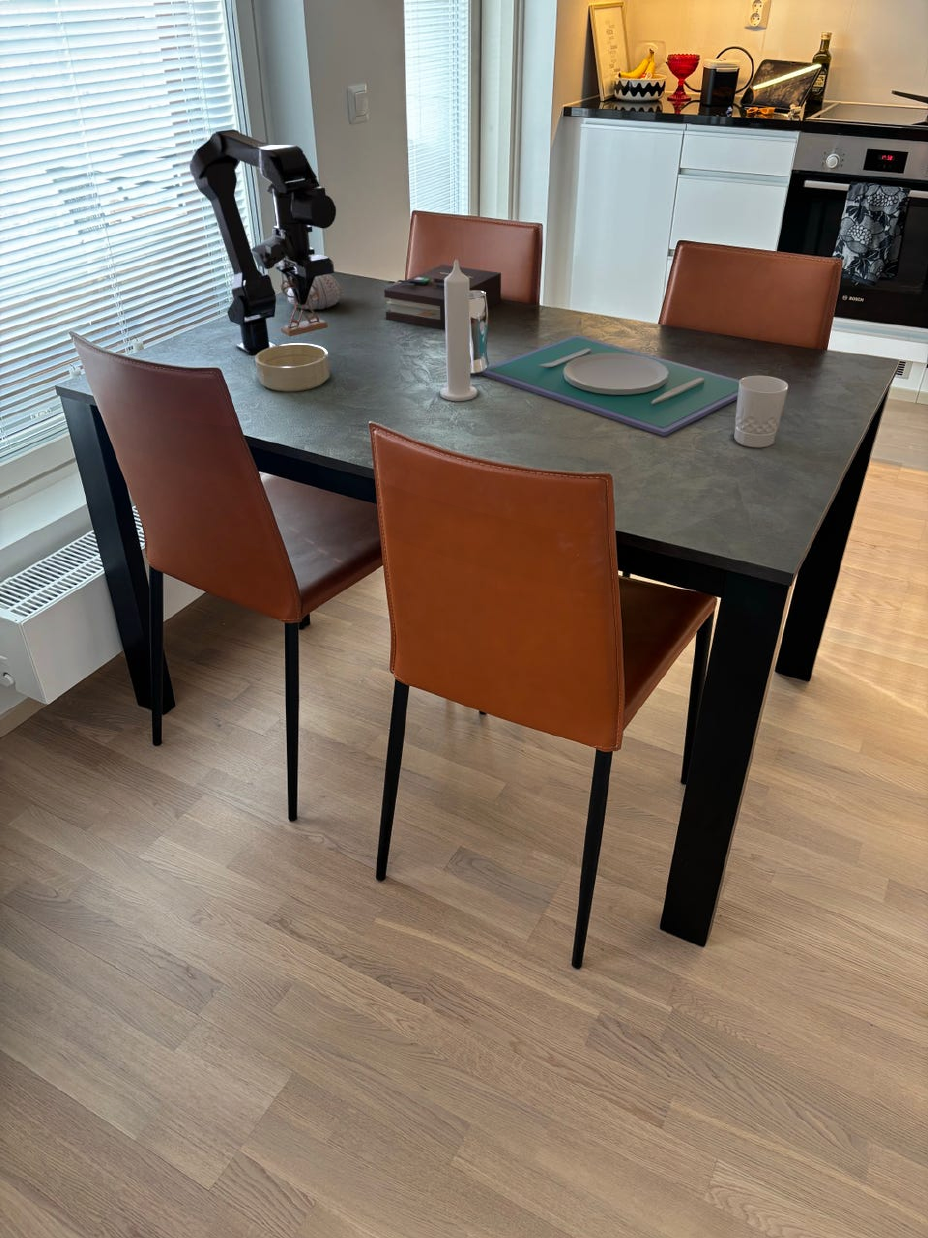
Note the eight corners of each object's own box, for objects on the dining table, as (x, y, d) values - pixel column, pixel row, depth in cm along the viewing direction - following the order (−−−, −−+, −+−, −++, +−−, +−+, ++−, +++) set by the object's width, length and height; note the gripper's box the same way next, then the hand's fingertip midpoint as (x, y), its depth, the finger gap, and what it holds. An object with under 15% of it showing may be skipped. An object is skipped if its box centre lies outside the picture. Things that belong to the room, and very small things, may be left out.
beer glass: (488, 374, 187) (483, 297, 179) (454, 375, 189) (447, 298, 181) (494, 364, 193) (489, 289, 185) (461, 365, 194) (455, 290, 187)
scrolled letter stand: (318, 322, 193) (312, 262, 187) (328, 326, 191) (322, 265, 184) (280, 331, 189) (272, 270, 182) (290, 336, 186) (282, 273, 180)
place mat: (479, 373, 190) (479, 363, 188) (576, 337, 207) (576, 327, 206) (663, 436, 163) (665, 424, 162) (756, 388, 180) (758, 377, 179)
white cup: (724, 431, 164) (732, 376, 159) (768, 429, 165) (778, 374, 159) (739, 450, 158) (748, 393, 152) (784, 448, 158) (795, 391, 153)
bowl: (246, 377, 190) (243, 353, 187) (308, 362, 197) (305, 338, 194) (279, 398, 181) (276, 372, 178) (343, 381, 188) (340, 356, 185)
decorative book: (510, 267, 228) (444, 299, 207) (509, 298, 232) (445, 333, 211) (442, 258, 236) (373, 287, 215) (443, 288, 240) (376, 320, 219)
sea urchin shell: (318, 315, 223) (315, 281, 219) (276, 307, 230) (272, 273, 225) (353, 301, 232) (351, 268, 228) (312, 293, 239) (308, 261, 234)
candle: (481, 389, 182) (481, 256, 168) (470, 403, 177) (468, 266, 163) (447, 386, 184) (444, 253, 170) (435, 399, 179) (430, 263, 165)
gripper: (231, 219, 180) (243, 301, 189) (278, 235, 168) (289, 323, 177) (282, 210, 186) (291, 291, 195) (331, 226, 173) (339, 311, 182)
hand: (301, 303), depth 187 cm, fingers closed on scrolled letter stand
